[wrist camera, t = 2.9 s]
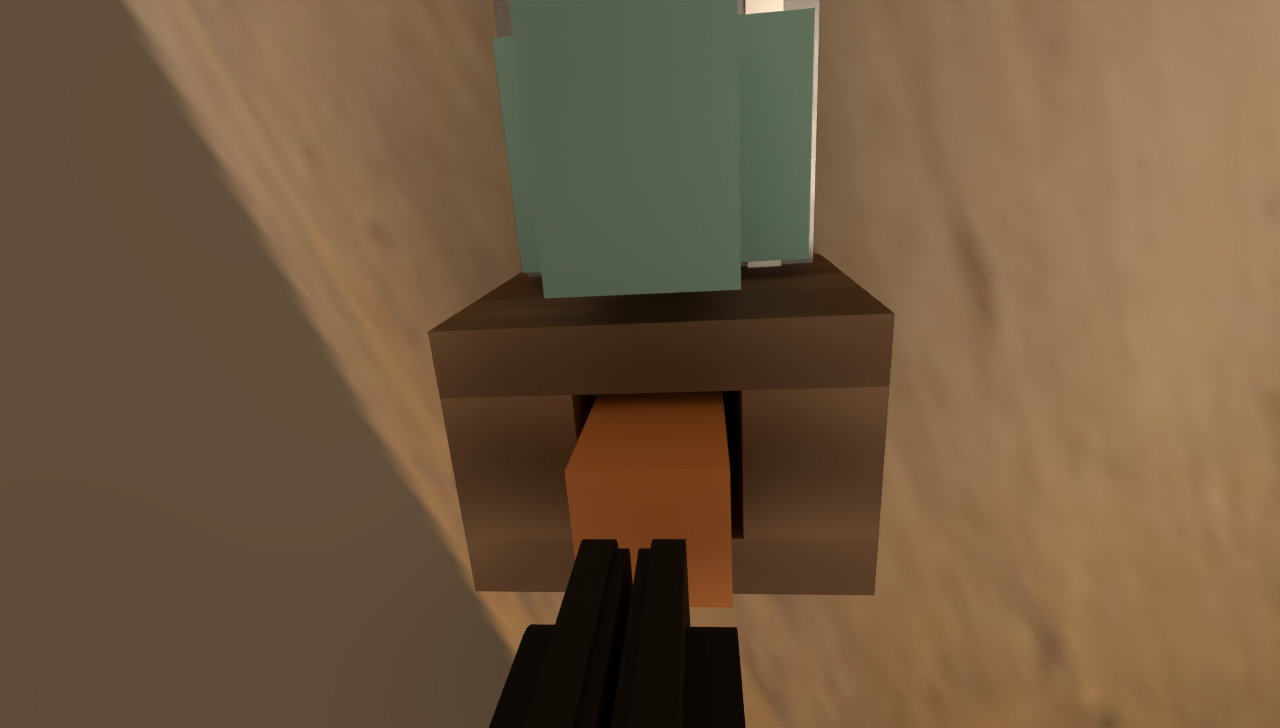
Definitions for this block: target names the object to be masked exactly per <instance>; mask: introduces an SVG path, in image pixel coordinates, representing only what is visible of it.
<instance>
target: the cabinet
mask: <svg viewBox="0 0 1280 728" xmlns="http://www.w3.org/2000/svg"><path fill="white" fill-rule="evenodd" d="M893 326H894V313H893V312H892V311H891V310H889V309H888V308H887V307H886V306H884V305H883V304H882V303H881V302H879V301H878V300H877V299H876V298H874V297H873V296H872V295H870V294H869V293H868V292H867V291H865V290H864V289H863V288H862V287H860V286H859V285H858V284H857V283H855V282H854V281H853V280H852V279H850V278H849V277H848V276H847V275H845V274H844V273H843V272H842V271H840V270H839V269H838V268H837V267H835V266H834V265H833V264H832V263H830V262H829V261H828V260H827V259H825V258H824V257H823V256H821V255H813V263H797V264H781V266H771V267H750V268H748V267H747V266H741V290H721V291H699V292H676V293H654V294H632V295H609V296H587V297H565V298H544V292H543V283H542V276H532V277H528V273H522V272H521V273H519V274H518V275H516V276H515V277H513V278H512V279H510V280H508V281H507V282H505V283H504V284H502V285H501V286H499V287H497V288H496V289H494V290H493V291H491V292H490V293H488V294H487V295H485V296H483V297H482V298H480V299H479V300H477V301H476V302H474V303H472V304H471V305H469V306H468V307H466V308H465V309H463V310H461V311H460V312H458V313H457V314H455V315H454V316H452V317H451V318H449V319H447V320H446V321H444V322H443V323H441V324H440V325H438V326H436V327H435V328H433V329H432V330H430V331H429V332H428V335H429V340H430V346H431V351H432V357H433V362H434V367H435V373H436V378H437V384H438V389H439V394H440V400H441V405H442V411H443V416H444V422H445V427H446V432H447V438H448V443H449V449H450V454H451V460H452V465H453V470H454V476H455V481H456V487H457V492H458V498H459V503H460V508H461V514H462V519H463V525H464V530H465V535H466V541H467V546H468V552H469V557H470V563H471V568H472V573H473V579H474V584H475V590H476V591H511V592H565V591H566V588H567V585H568V582H569V579H570V575H571V572H572V569H573V566H574V563H575V555H574V546H573V538H572V529H571V521H570V513H569V504H568V496H567V487H566V479H565V469H566V467H567V465H568V463H569V460H570V458H571V456H572V453H573V451H574V449H575V446H576V444H577V442H578V439H579V437H580V435H581V432H582V430H583V428H584V425H585V423H586V421H587V418H588V416H589V414H590V411H591V409H592V407H593V404H594V402H595V400H596V397H597V395H598V394H628V393H665V392H703V391H728V407H729V408H724V413H725V423H726V434H727V444H728V454H729V464H730V494H731V544H732V594H813V595H874V592H875V578H876V564H877V550H878V536H879V522H880V508H881V494H882V480H883V466H884V452H885V438H886V424H887V410H888V396H889V382H890V368H891V354H892V340H893Z"/></svg>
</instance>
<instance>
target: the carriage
mask: <svg viewBox="0 0 1280 728" xmlns="http://www.w3.org/2000/svg"><path fill="white" fill-rule="evenodd" d="M509 4H510V13H511V21H512V30H513V36H510V37H499V38H492V40H493V48H494V56H495V64H496V72H497V79H498V87H499V95H500V103H501V111H502V118H503V126H504V134H505V142H506V149H507V157H508V165H509V173H510V181H511V188H512V196H513V204H514V212H515V220H516V227H517V235H518V243H519V251H520V259H521V266H522V273H528V272H541V275H542V283H543V292H544V298H565V297H587V296H609V295H632V294H654V293H676V292H699V291H721V290H741V262H749V261H769V260H789V259H809V232H810V190H811V149H812V108H813V66H814V25H815V8H806V9H796V10H785V11H774V12H764V13H753V14H743V15H738V0H509Z"/></svg>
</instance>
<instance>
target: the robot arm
mask: <svg viewBox="0 0 1280 728" xmlns="http://www.w3.org/2000/svg"><path fill="white" fill-rule="evenodd" d="M489 728H746V727H745V715H744V703H743V691H742V679H741V667H740V655H739V643H738V632H737V627H690V612H689V591H688V570H687V549H686V539H652V542H651V548H639V550H638V556H637V562H636V568H635V575H634V581H633V580H632V568H631V556H630V550H629V548H618V543H617V540H616V539H583V540H582V541H581V543H580V546H579V550H578V553H577V556H576V559H575V563H574V566H573V569H572V572H571V575H570V579H569V582H568V585H567V588H566V591H565V595H564V598H563V601H562V604H561V608H560V611H559V614H558V617H557V620H556V624H555V625H537V624H531V625H530V626H528V627H527V629H526V631H525V633H524V635H523V637H522V640H521V643H520V645H519V648H518V651H517V654H516V656H515V659H514V662H513V664H512V667H511V670H510V673H509V675H508V678H507V680H506V683H505V686H504V688H503V691H502V694H501V697H500V699H499V702H498V705H497V707H496V710H495V713H494V715H493V718H492V721H491V723H490V726H489Z"/></svg>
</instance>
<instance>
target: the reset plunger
mask: <svg viewBox="0 0 1280 728" xmlns="http://www.w3.org/2000/svg"><path fill="white" fill-rule="evenodd" d="M565 479H566V487H567V496H568V504H569V513H570V521H571V529H572V538H573V546H574V555H575V559H576V556H577V553H578V550H579V546H580V543H581V541H582V540H583V539H616V540H617V543H618V548H629V550H630V556H631V568H632V580H633V581H634V575H635V568H636V562H637V556H638V550H639V548H651V542H652V539H686V549H687V570H688V591H689V607H733V595H732V544H731V494H730V464H729V454H728V444H727V434H726V423H725V413H724V403H723V393H722V391H703V392H665V393H628V394H598V395H597V397H596V400H595V402H594V404H593V407H592V409H591V411H590V414H589V416H588V418H587V421H586V423H585V425H584V428H583V430H582V432H581V435H580V437H579V439H578V442H577V444H576V446H575V449H574V451H573V453H572V456H571V458H570V460H569V463H568V465H567V467H566V469H565Z"/></svg>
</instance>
